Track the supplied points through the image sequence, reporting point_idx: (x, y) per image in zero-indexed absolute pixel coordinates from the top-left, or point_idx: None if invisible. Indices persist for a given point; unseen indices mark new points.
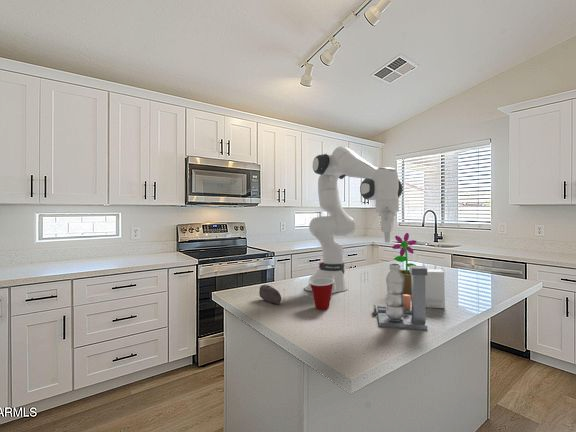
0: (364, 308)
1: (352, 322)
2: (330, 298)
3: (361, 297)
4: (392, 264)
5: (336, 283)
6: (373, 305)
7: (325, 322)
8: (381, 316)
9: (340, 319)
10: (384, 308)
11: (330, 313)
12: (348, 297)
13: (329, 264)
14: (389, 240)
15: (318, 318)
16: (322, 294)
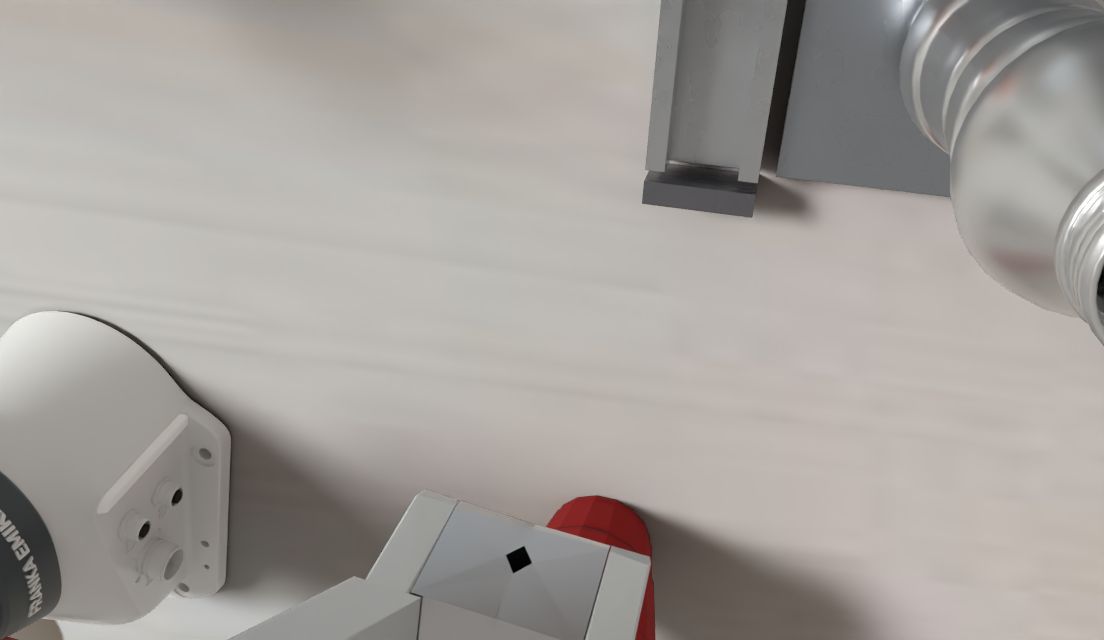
0: (571, 245)
1: (934, 384)
2: (587, 536)
3: (263, 224)
4: (1095, 305)
5: (138, 442)
6: (645, 203)
7: (926, 551)
8: (897, 164)
9: (862, 454)
10: (673, 99)
11: (726, 499)
12: (296, 328)
13: (9, 608)
14: (643, 593)
15: (840, 580)
16: (654, 635)
